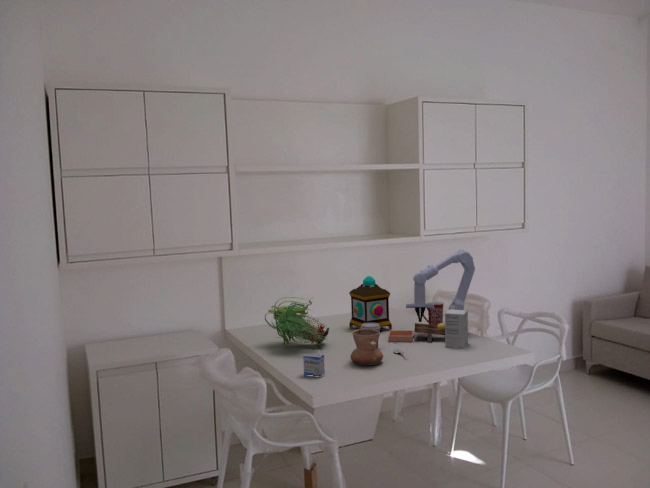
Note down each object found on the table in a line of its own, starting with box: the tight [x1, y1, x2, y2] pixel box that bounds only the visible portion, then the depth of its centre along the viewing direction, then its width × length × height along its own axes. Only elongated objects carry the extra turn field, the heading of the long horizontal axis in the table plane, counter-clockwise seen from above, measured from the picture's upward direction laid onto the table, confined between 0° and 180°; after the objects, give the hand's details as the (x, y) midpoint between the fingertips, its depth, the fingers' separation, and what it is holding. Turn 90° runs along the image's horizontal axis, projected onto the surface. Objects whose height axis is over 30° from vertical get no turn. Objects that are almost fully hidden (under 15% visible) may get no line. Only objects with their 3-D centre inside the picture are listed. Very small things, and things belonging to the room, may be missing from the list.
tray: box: [387, 329, 414, 343], centre depth 288 cm, size 12×12×3 cm
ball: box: [437, 323, 445, 330], centre depth 284 cm, size 4×4×4 cm
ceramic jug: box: [350, 328, 384, 366], centre depth 250 cm, size 18×14×14 cm
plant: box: [264, 296, 330, 352], centre depth 281 cm, size 30×30×35 cm
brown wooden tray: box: [413, 322, 445, 337], centre depth 288 cm, size 16×16×3 cm
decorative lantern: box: [348, 275, 393, 331], centre depth 310 cm, size 20×20×30 cm
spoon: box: [393, 348, 410, 361], centre depth 257 cm, size 4×21×2 cm, turn 13°
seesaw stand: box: [426, 333, 433, 344], centre depth 285 cm, size 2×13×5 cm, turn 170°
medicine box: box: [302, 353, 326, 377], centre depth 235 cm, size 8×4×9 cm, turn 69°
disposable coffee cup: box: [360, 323, 381, 350], centre depth 271 cm, size 10×10×12 cm
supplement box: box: [444, 308, 469, 350], centre depth 272 cm, size 10×9×17 cm
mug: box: [422, 300, 445, 325], centre depth 311 cm, size 13×9×14 cm
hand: (420, 321), depth 294 cm, fingers closed
